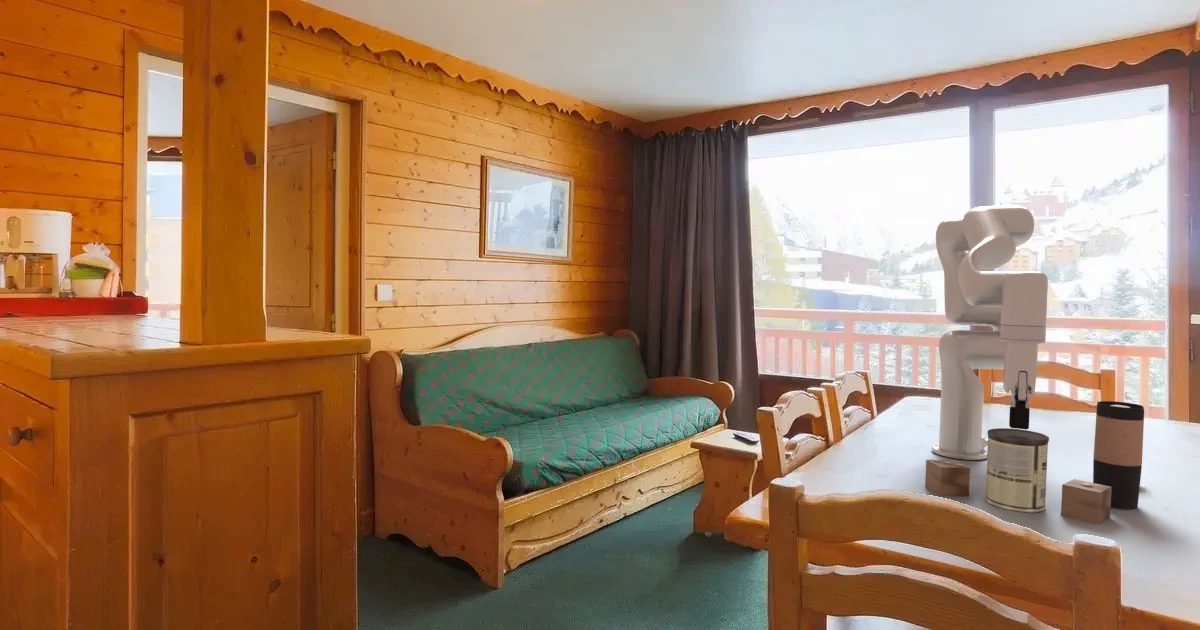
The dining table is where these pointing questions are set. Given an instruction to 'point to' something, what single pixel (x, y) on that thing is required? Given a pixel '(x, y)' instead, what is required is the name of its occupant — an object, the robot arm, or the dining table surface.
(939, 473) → the three-pip block
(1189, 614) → the dining table surface
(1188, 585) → the dining table surface
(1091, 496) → the one-pip block
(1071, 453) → the dining table surface
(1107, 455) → the travel mug
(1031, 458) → the coffee can
